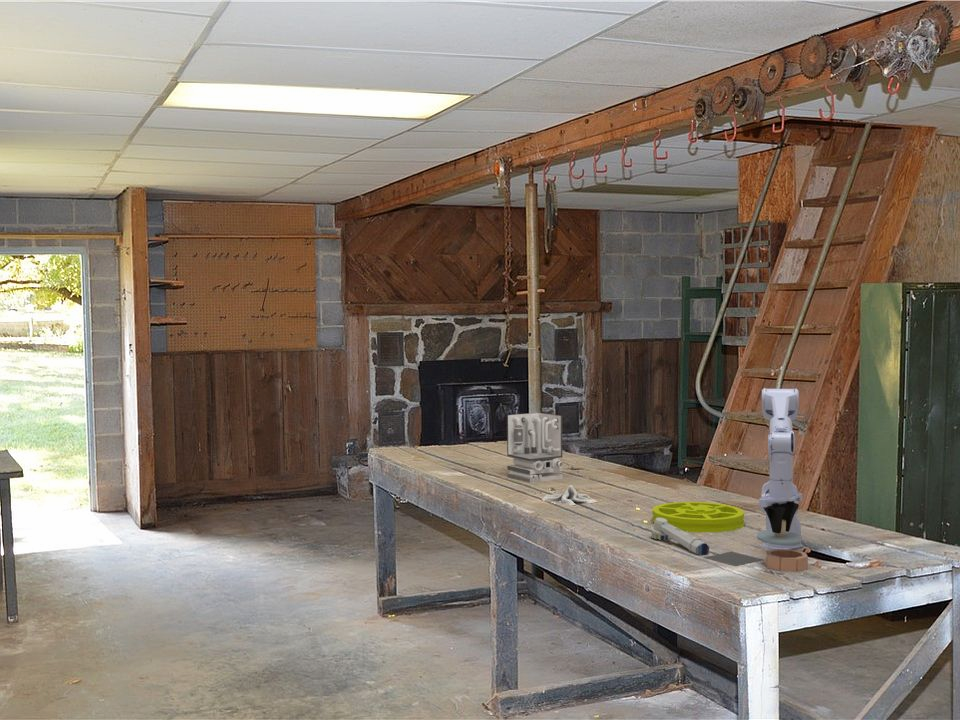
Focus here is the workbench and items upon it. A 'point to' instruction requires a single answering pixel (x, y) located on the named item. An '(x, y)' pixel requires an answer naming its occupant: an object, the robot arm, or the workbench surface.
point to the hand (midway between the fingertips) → (780, 531)
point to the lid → (780, 536)
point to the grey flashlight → (678, 536)
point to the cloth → (569, 497)
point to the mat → (733, 558)
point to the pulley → (700, 516)
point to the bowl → (786, 560)
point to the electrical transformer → (534, 446)
